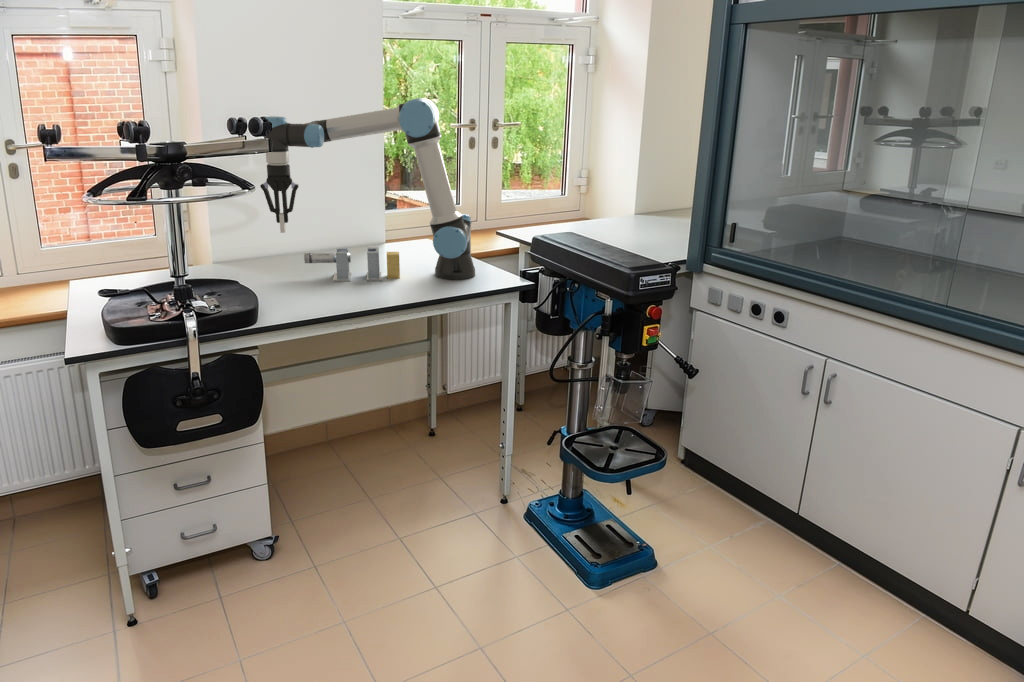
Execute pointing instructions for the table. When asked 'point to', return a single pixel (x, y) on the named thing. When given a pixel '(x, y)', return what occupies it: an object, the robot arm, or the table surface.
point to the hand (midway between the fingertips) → (283, 231)
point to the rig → (343, 265)
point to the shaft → (322, 257)
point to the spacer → (393, 265)
